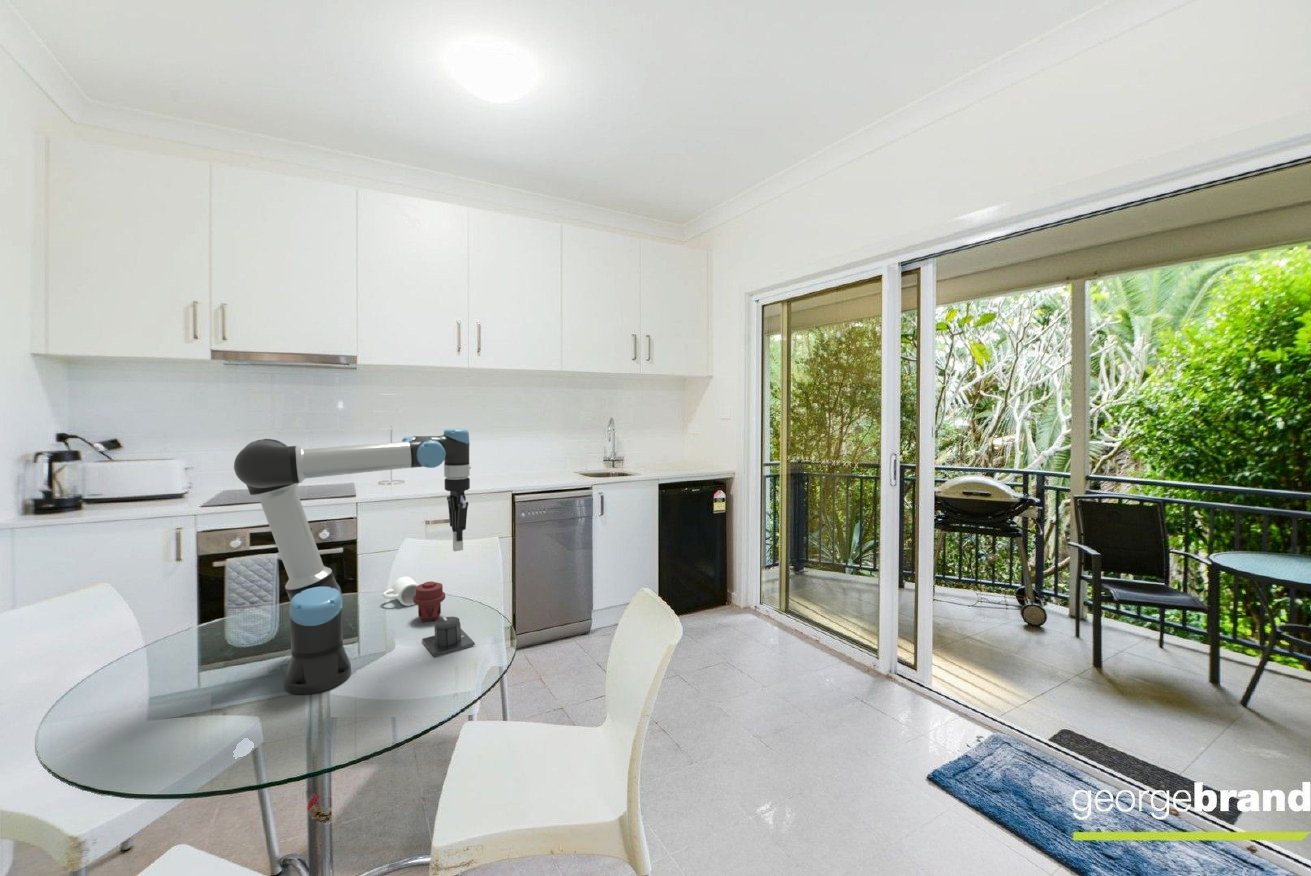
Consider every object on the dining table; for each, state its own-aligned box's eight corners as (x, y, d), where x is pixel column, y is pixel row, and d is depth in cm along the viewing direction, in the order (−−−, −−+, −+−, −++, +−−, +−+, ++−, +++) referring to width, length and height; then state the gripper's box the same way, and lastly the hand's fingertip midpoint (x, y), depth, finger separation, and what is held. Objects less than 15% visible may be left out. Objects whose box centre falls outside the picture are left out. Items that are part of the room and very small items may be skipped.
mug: (414, 594, 204) (414, 574, 203) (423, 603, 196) (422, 581, 196) (380, 602, 196) (379, 581, 196) (387, 611, 189) (386, 589, 188)
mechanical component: (423, 611, 189) (450, 613, 188) (407, 623, 179) (436, 625, 178) (422, 577, 188) (450, 579, 187) (406, 587, 178) (435, 589, 177)
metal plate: (434, 657, 157) (433, 640, 157) (422, 641, 167) (421, 626, 166) (474, 645, 165) (474, 629, 164) (461, 631, 174) (460, 616, 174)
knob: (463, 641, 165) (462, 621, 164) (440, 648, 161) (439, 628, 160) (455, 632, 170) (454, 613, 170) (432, 639, 166) (431, 620, 165)
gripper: (476, 479, 169) (477, 553, 171) (461, 473, 179) (462, 543, 181) (452, 481, 164) (453, 557, 166) (438, 475, 174) (439, 547, 176)
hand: (458, 550), depth 173 cm, fingers closed
